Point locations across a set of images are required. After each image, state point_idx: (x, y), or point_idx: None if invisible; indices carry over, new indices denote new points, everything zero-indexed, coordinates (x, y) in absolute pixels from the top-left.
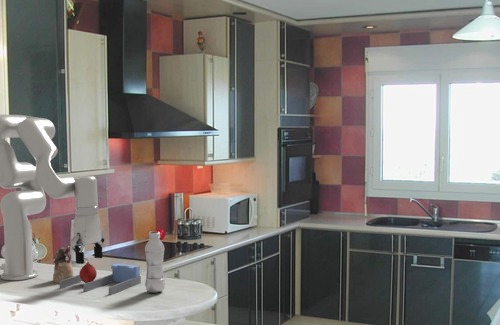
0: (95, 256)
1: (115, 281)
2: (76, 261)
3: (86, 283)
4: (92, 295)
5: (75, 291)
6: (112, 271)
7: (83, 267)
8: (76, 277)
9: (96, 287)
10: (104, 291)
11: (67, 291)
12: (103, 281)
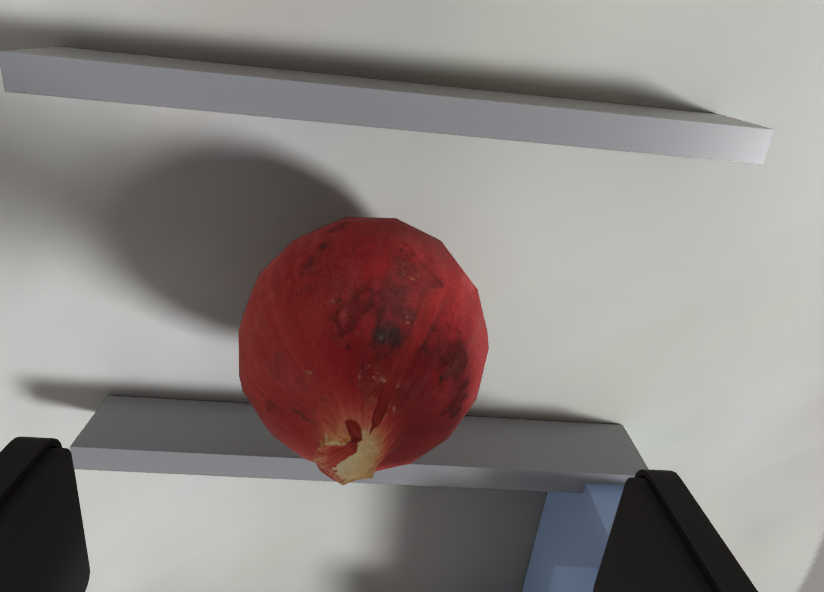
0: (628, 514)
1: None
2: (2, 470)
3: (113, 456)
4: None
5: (68, 316)
6: (595, 512)
7: (277, 379)
8: (366, 122)
9: None
10: (212, 540)
11: (15, 235)
12: None
